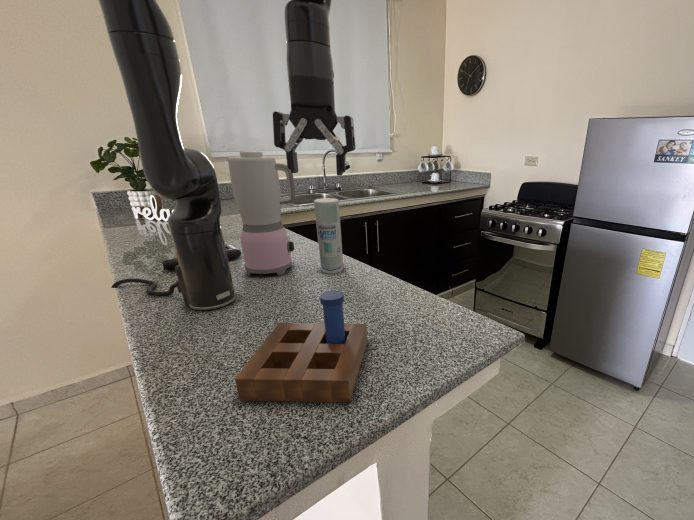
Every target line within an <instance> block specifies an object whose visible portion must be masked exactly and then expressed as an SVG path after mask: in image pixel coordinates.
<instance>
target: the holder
mask: <svg viewBox="0 0 694 520" xmlns="http://www.w3.org/2000/svg"><path fill="white" fill-rule="evenodd" d="M344 328H345V340H346V342H345V344H327V342H326V332H325V322H278V323H277V325H276V326H275V327H274V329H272V331H271V333H270V334H269V335H268V336H267V337H266V339H265V340H264V341H263V342H262V344H261V345H260V346H259V348H258V349H257V350H256V351H255V352H254V354H253V355H252V356H251V357H250V359H249V360H248V361H247V363H246V364H245V365H244V367H243V368H242V369H241V370H240V372H239V373H238V374H237V376H236V377H235V378H234V381H235V386H236V389H237V394H238V399H239V402H287V403H289V402H293V403H298V402H299V403H303V402H304V403H352V399H353V394H354V391H355V388H356V384H357V380H358V376H359V374H360V370H361V367H362V364H363V359H364V356H365V352H366V349H367V345H368V326H367V323H344Z"/></svg>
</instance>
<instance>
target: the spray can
mask: <svg viewBox="0 0 694 520" xmlns="http://www.w3.org/2000/svg"><path fill="white" fill-rule="evenodd" d="M313 208H314V216H315V217H314V218H315V225H316V226H315V227H316V234H317V243H318V251H319V253H318V254H319V262H320V269H321V272H322V273H324V274H336V273H340V272H342V271H343V270H344V256H343V243H342V242H343V241H342V228H341V215H340V214H341V213H340V200H339V199H338V198H335V197H334V198H333V197H331V198H330V197H322V198H316V199H314V200H313Z"/></svg>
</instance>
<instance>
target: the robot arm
mask: <svg viewBox="0 0 694 520" xmlns="http://www.w3.org/2000/svg"><path fill="white" fill-rule="evenodd" d="M98 3H99V6H100V9H101V13H102V16H103V20H104V24H105V28H106V32H107V35H108V38H109V42H110V45H111V48H112V52H113V55H114V58H115V62H116V64H117V67H118V71H119V73H120V76H121V80H122V84H123V86H124V91H125V94H126V98H127V101H128V102H127V103H128V106H129V109H130V112H131V117H132V120H133V124H134V130H135V134H136V140H137V146H138V151H139V158H140V161H141V162H140V163H141V166H142V171H143V175H144V177H145V179H146V182H147V183H148V184H149V186H150V188H151V189H152V190H153V191H154V192H155V193H156V194H157V195H159V196H160V197H162V198H164V199H167V200H171V201H175V202H176V203H175V207H174V209H173V211H172V212H171V213H170V215H169V216H168V218H167V226H168V229H169V233H170V236H171V240H172V244H173V247H174V251H175V252H174V253H175V255H176V258H177V259H178V263H179V265H177V266H176V267H175V269H174V270H175V273H176V277H177V280H175V282H174V283H172V284H170V286H169V288H168V290H165V291H156V290H155V289H156V288H157V286H158V284H157V282H155V281H153V280H150V279H149V280H148V279H144V278H123V279H120V280H117V281H115V282H114V283H112V285H111V289H115V288H117V287H119V286H120V285H122V284H128V283H138V284H146V285H150V286H149V287H147V289H146V293H147V294H148V295H149V296H155V297H166V296H170V295H172V294H173V293H174V292H175V289H176V288H177V291H178V293H179V294H181V296H182V299H183V304H184V307H185V308H190V309H192V310H195V311H211V310H216V309H220V308H223V307H226V306H229V305H230V304H232V303H234V301H236V299H237V294H236V290H235V287H234V282H233V277H232V271H231V267H230V262H229V260H228V257H227V252H226V248H225V245H226V243H225V239H224V234H223V229H222V224H221V215H222V200H221V194H220V190H219V182H218V177H217V173H216V171H215V168H214V165H213V163H212V162H211V160H210V159H209V158H208V156H207V155H205V153H203V152H201V151H199V150H198V149H195V148H189V147H188V148H187V147H186V148H184V146H183V142H182V139H181V134H180V131H179V126H178V118H177V116H178V115H177V113H178V105H179V99H180V93H181V88H182V80H183V73H182V65H181V62H180V56H179V53H178V49H177V45H176V41H175V37H174V34H173V31H172V30H173V29H172V28H171V25H170V23H169V21H168V20H167V17H166V15H165V13H164V12H163V11H162V9H161V7H160V5H159V4H158V2H157V1H156V0H98ZM331 4H332V0H289V1H287V2H286V3H285V6H284V29H285V40H286V70H287V71H286V72H287V80H288V92H289V93H288V94H289V104H290V112H289V113H283V112H280V111H273V112H272V128H273V145H274V147H276V148H279V149H281V150H283V151H285V157H286V165H287V167H288V169H289V170H291V173H293V174H298V173H299V162H298V151H296V150H297V148H298V146H299V145H300V143H302V142H303V140H318V141H325V140H327V142H328V143H329V144H330V145H331V147H333V149H334V150H335V152H336V154H335V164H336V167H335V168H336V176H340V177H342V176H343V174H344V173H345V172H346V171H347V162H346V160H347V159H346V156H347V154H348V153H350V152H354V151H356V137H355V125H354V118H353V117H352V116H351V115H344V116H338V115H337V114H336V107H335V106H336V104H335V83H334V81H335V80H334V78H335V72H334V64H333V58H332V51H331V33H330V31H331V29H330V12H331V6H332V5H331ZM289 122H290V123H291V125H292V126H293V127H294V130H293V131H292V132H291V134H290V136H289V139H288V140H287V139H286V126H288V125H289V124H288V123H289ZM338 124H340V127H341V128H342V129H343V130H344V135H345V145H343V143H342V142H341V140H340V138H339V137H338V136H337V134H336V133H335V131H334V130H335V128H336V127H337V126H338Z"/></svg>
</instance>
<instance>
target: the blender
mask: <svg viewBox="0 0 694 520" xmlns="http://www.w3.org/2000/svg"><path fill="white" fill-rule="evenodd" d="M225 160H226V161H227V164H228V171H229V178H230V183H231V188H232V193H233V199H234V202H235V204H236V207H237V210H238V213H239V216H240V218H241V222H242V230H241V232H240V245H241V252H242V255H243V261H244V269H245V272H246V275H247V276H252V274H257V275H265V274H266V275H267V274H274V273H276V276H283V275H285V274H286V270H287V269H289V268H291V267H292V265H293V260H292V254H291V252H294V251H295V244H294V241H291V240H290V238H289V237H290V236H289V233H288V232H287V230H286V227H285V226H284V224H283V222H282V205H287V204H292V203H293V202H295V200H296V188H295V180H294V173H291V170H289V169H288V167H287V164H284V163H279V162H278V163H277V161H276V158H275V157H274V156H270V155H269V156H268V155H263V151H262V150H242V151H241V150H240V151H239V155H235V156H229V157H226V158H225ZM278 171H282V172H283V173H285V176H286V184H287V193H288V196H286V197H282V192H281V184H280V177H279V172H278Z"/></svg>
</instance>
